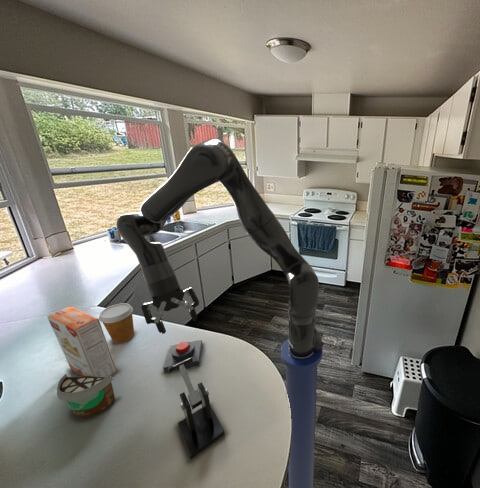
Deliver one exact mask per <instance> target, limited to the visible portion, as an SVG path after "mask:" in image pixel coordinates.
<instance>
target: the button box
mask: <svg viewBox="0 0 480 488" xmlns="http://www.w3.org/2000/svg"><path fill="white" fill-rule="evenodd" d="M186 342H188V344H189V350H188V351H186V352H184V353H178V352H177V349H176V346H177V345H178V344H179V343H177V344H171V345H169V349H168V352H167V355H166V358H165V361H164V364H163V372H164V374H166V373H169V370H168V368H170V367H172V366H174V365H176V364H179V363H181V362H183V361H185V360H187V359H189V358H191V357H192V359H193V362H191V363H189V364H187V365H185V369H186V370H187V369H190V368H195V367H200V363H201V357H202V352H203V347H204V346H203V345H204V343H203V339H199V340H193V341H186ZM176 371H180V369H177V370H175V371H174V372H176Z"/></svg>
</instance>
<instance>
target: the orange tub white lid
mask: <svg viewBox="0 0 480 488" xmlns="http://www.w3.org/2000/svg"><path fill="white" fill-rule="evenodd" d="M133 312H134V308H133V306H131V305H130V304H129V303H124V302H122V303H116V304H113V305H109V306H108V307H105V308H104V309H103V310H101V312H100V313H99V316H98V319H99V321H100V323H102V324H103V326H104V328H105V329H106V331H107V334H108V335H109V337H110V339H111V340H112V342H113V343H114V344H121V343H126V342H127V341H130V340H131V339H132V338H133V337H134V336H135V327H134V318H133V317H134V316H133Z"/></svg>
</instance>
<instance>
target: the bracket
mask: <svg viewBox="0 0 480 488" xmlns="http://www.w3.org/2000/svg"><path fill="white" fill-rule="evenodd" d="M197 390H198V391H199V394H200V396H201V398H202V404H201V405H200V406H201V408H199V409H198V410H196V411H194V412H192V411H193V410H192V407H191V405H190V402H189V400H188V396H187V395H186V393H185V391H183V392H181V393H180V394H179V399H180V402H181V403H180V408H181V411H183V414H184V418H183V419H181V420H180V421H178V422H177V426H178V430H179V431H180V434H181V436H182V437H181V438H182V439H183V442H184V445H185V448H186V449H187V452H188V455H189V458H190V459H191V460H192V459H193V458H194V457H196V456H197V455H198V454H200V453H201V452H203V451H204V450H205V449H207V448H208V447H209V446H211V445H213V443H215V442H216V441H218V440H219V439H221V438H222V437H223V436H225V435H226V431H225V429H224V427H223V425H222V424H221V422H220V420H219V418H218V416H217V414H216V412H215V411H214V409H213V407H212V405H211V402H210V392H209V390H208V389H207V388H206V387H205V385H204V383H203V382H202V381H201V382H198V383H197Z"/></svg>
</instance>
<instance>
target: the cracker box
mask: <svg viewBox="0 0 480 488" xmlns="http://www.w3.org/2000/svg"><path fill="white" fill-rule="evenodd" d="M47 319H48V321H49V324H50V327H51V329H52V330H53V333H54V335H55V337H56V339H57V342H58V344H59V346H60V348H61V350H62V352H63V355H64V357H65V359H66V362H67V364H68V367H69V368H70V370H72V371H73V372H75V373H77V374H78V375H80V377H82V376H93V377H107V376H108V375H109V374H110V376H111V377H112V376H113V375H115V374H116V373H117V372H118V370H117V366H116V364H115V362H114V361H115V360H114V358H113V356H112V352H111V350H110V347H109V344H108V342H107V338H106V335H105V333H104V330H103V327H102V325H101V321H100V320H99V317H96V316H93V315H91V314H90V313H87V312H85V311H83V310H81V309H78V308H76V307H74V306H72V305H70V306H68V307H65V308H63V309H61V310H58V311H56V312H53V313H51V314H49V315H47Z"/></svg>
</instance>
